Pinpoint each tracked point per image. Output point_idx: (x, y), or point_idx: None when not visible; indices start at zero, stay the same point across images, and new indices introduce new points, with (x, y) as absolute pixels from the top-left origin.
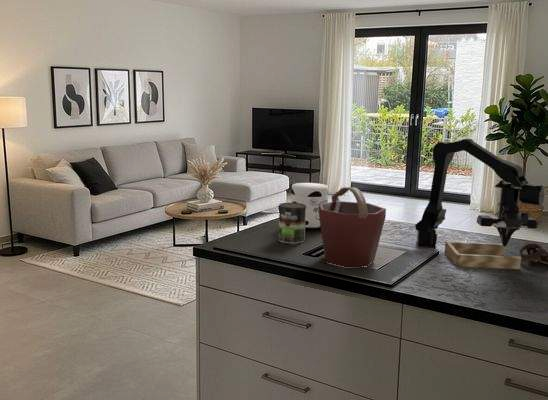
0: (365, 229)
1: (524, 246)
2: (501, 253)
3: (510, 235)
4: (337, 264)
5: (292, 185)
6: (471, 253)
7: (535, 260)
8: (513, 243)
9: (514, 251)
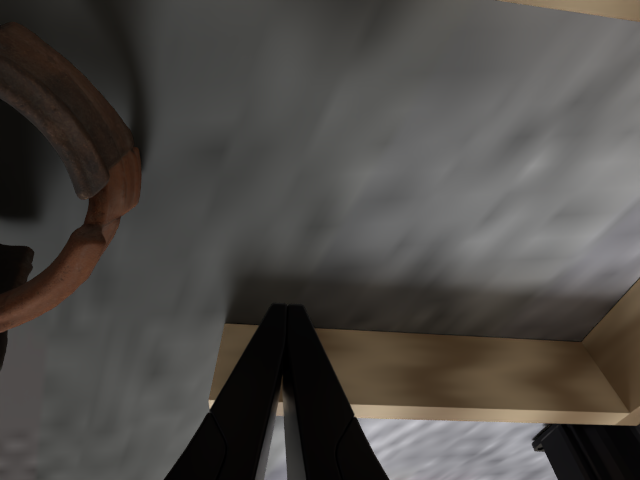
0: None
1: (12, 301)
2: (240, 336)
3: (202, 460)
4: None
5: None
6: (443, 337)
7: None
8: (109, 465)
9: (127, 385)
